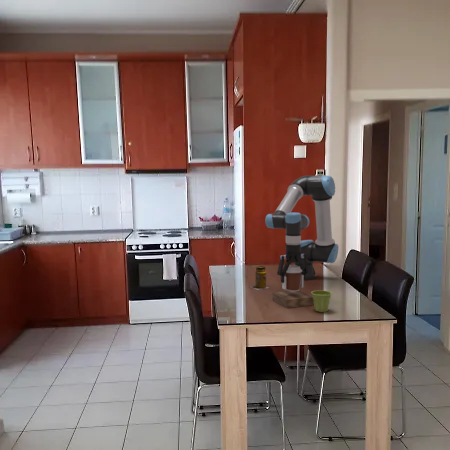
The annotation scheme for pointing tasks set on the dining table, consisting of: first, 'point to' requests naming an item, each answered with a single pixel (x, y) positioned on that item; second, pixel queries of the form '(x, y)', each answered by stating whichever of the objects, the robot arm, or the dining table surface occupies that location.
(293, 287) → the coffee cup
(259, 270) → the condiment
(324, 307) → the plant pot
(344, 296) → the dining table surface
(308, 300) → the base slab
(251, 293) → the dining table surface
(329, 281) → the dining table surface
